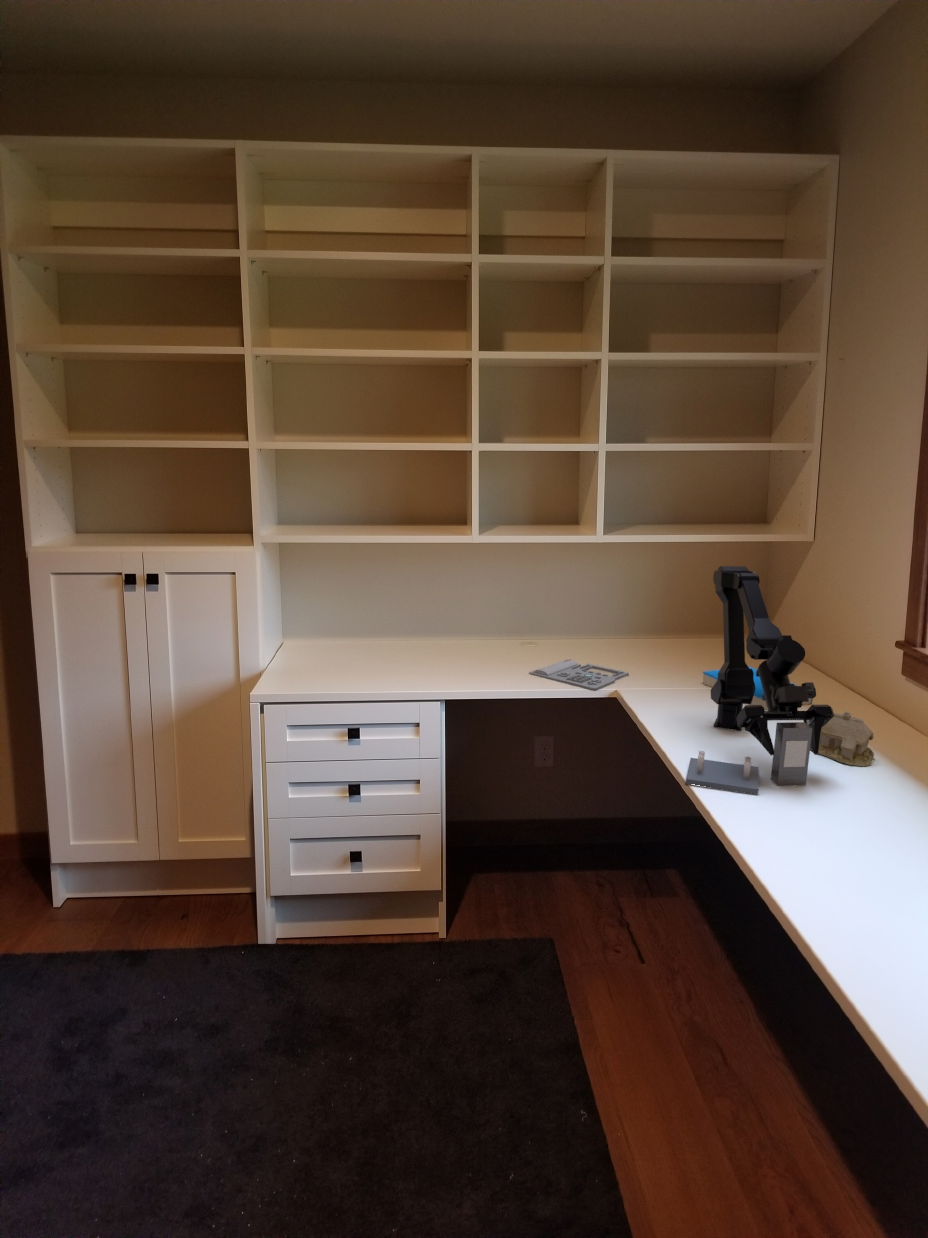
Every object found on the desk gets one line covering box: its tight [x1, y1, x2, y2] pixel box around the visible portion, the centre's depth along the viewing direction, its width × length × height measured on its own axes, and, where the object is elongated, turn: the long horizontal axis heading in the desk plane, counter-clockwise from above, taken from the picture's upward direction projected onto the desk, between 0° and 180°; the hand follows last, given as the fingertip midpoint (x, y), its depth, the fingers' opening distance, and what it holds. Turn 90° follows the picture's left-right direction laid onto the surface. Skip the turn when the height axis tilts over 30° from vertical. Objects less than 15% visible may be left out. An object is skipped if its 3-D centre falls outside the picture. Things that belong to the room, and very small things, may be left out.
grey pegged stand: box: [685, 750, 760, 795], centre depth 173 cm, size 12×14×5 cm
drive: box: [770, 721, 812, 787], centre depth 171 cm, size 3×6×12 cm, turn 94°
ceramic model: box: [810, 711, 875, 767], centre depth 186 cm, size 14×11×10 cm
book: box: [702, 666, 814, 711], centre depth 230 cm, size 17×4×25 cm
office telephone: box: [528, 659, 630, 692], centre depth 245 cm, size 23×3×20 cm
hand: (794, 754), depth 169 cm, fingers open, 9 cm apart
